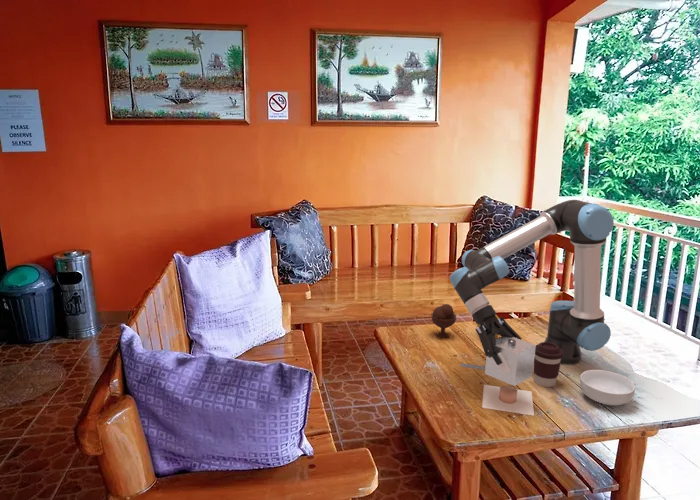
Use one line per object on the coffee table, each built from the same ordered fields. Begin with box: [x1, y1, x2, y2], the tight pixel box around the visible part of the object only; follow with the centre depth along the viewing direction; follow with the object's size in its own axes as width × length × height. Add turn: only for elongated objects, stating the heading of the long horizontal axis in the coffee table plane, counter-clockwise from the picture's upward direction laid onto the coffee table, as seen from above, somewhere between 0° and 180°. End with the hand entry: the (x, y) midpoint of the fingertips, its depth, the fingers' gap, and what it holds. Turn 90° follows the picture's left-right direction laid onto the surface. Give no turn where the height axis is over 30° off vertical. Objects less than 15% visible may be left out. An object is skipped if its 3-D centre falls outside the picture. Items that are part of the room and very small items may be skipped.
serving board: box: [481, 384, 535, 416], centre depth 173 cm, size 16×16×1 cm
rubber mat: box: [460, 362, 486, 371], centre depth 192 cm, size 14×14×1 cm
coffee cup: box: [533, 341, 564, 388], centre depth 184 cm, size 10×10×15 cm
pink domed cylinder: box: [499, 385, 517, 404], centre depth 173 cm, size 6×6×4 cm
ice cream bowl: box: [430, 303, 457, 339], centre depth 225 cm, size 11×11×15 cm
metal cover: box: [484, 336, 537, 387], centre depth 169 cm, size 11×11×12 cm
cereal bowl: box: [579, 369, 636, 406], centre depth 175 cm, size 17×17×7 cm
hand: (517, 367), depth 168 cm, fingers closed on metal cover, 11 cm apart
